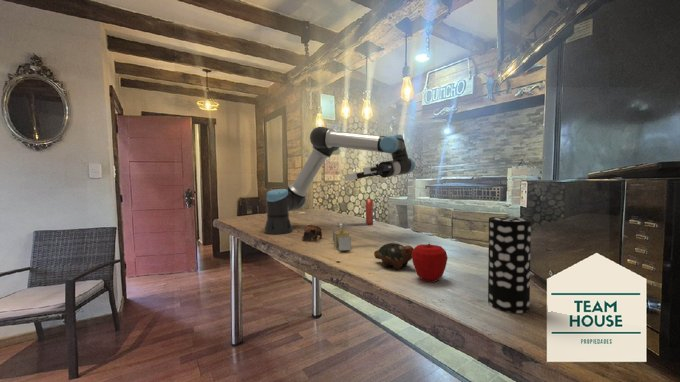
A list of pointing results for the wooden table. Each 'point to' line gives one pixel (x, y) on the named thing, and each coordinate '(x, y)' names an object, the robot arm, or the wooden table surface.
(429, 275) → the apple
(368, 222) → the lever
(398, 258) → the decorative turtle
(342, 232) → the pipe valve
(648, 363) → the wooden table surface
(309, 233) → the brown animal figurine
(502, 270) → the spotted tube
